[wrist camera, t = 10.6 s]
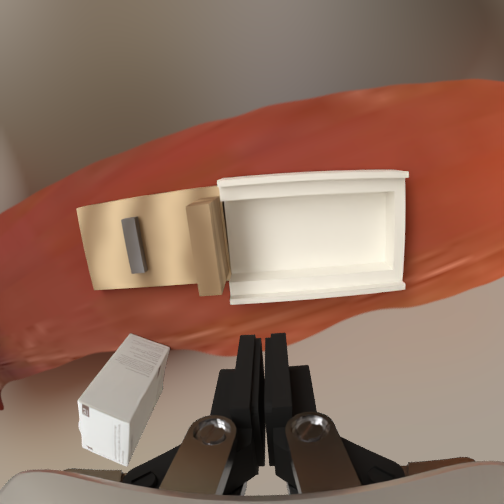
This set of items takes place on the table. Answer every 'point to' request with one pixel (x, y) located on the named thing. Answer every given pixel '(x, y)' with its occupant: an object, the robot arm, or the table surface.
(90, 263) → the lid
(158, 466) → the robot arm
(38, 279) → the table surface
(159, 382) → the skincare box
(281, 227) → the box
